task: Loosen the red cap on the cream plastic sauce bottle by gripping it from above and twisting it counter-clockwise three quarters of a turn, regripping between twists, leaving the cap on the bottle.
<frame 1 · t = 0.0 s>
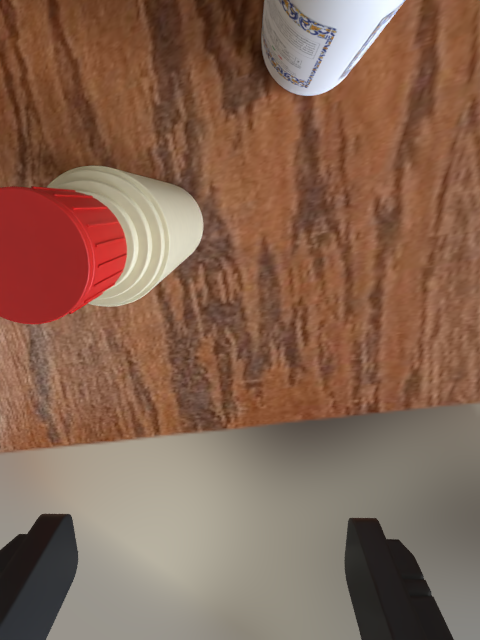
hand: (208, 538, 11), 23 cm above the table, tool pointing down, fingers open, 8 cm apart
bath foam: (309, 44, 27), on the table
cap: (28, 257, 12), point 20 cm above the table, screwed on, not yet turned
sauce bottle: (164, 224, 31), on the table
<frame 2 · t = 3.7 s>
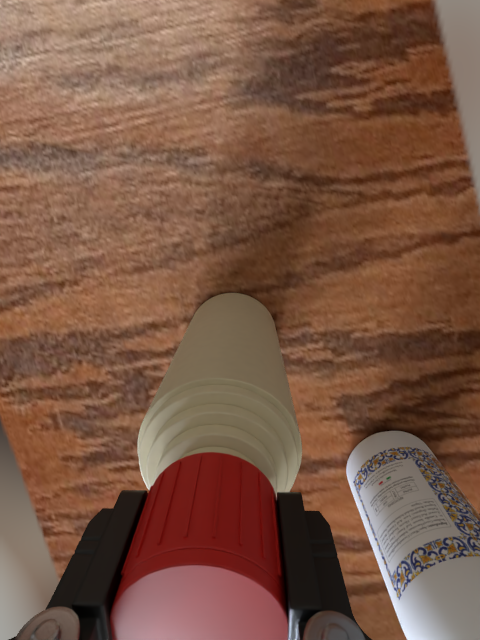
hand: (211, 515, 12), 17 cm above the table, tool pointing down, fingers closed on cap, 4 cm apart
bath foam: (386, 462, 31), on the table
cap: (201, 615, 9), point 20 cm above the table, screwed on, not yet turned, touching gripper
sauce bottle: (232, 335, 28), on the table
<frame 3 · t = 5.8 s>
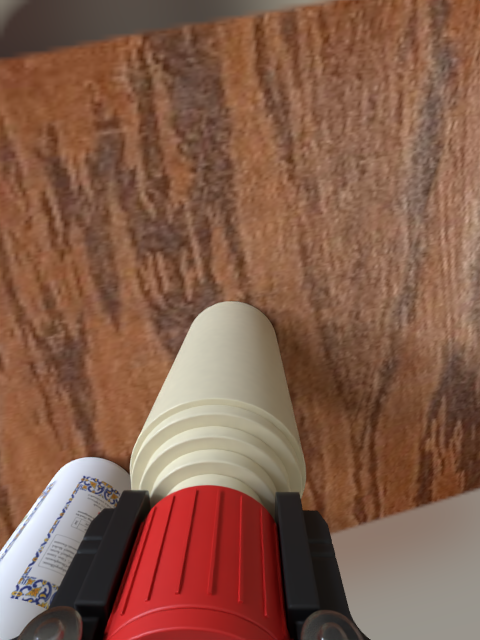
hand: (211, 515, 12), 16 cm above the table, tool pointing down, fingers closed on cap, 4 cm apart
bath foam: (98, 488, 31), on the table
sauce bottle: (232, 344, 27), on the table
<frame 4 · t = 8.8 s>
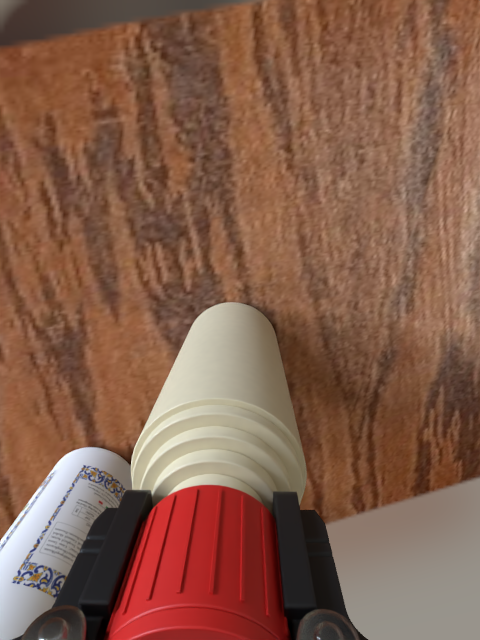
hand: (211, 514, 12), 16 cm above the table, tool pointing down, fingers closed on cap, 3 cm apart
bath foam: (98, 478, 31), on the table
sauce bottle: (232, 345, 27), on the table
when the fingers open (17 cm above the table, at t = 12.4 s): cap stays where it is, point 20 cm above the table.
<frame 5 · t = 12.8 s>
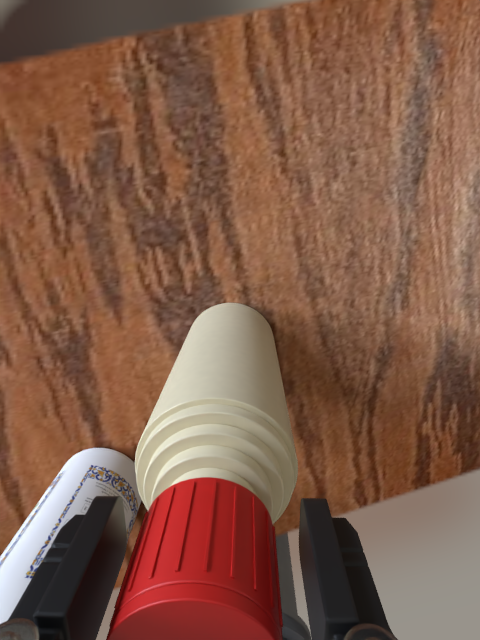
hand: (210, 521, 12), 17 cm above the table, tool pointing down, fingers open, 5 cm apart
bath foam: (105, 478, 32), on the table
sauce bottle: (231, 344, 28), on the table
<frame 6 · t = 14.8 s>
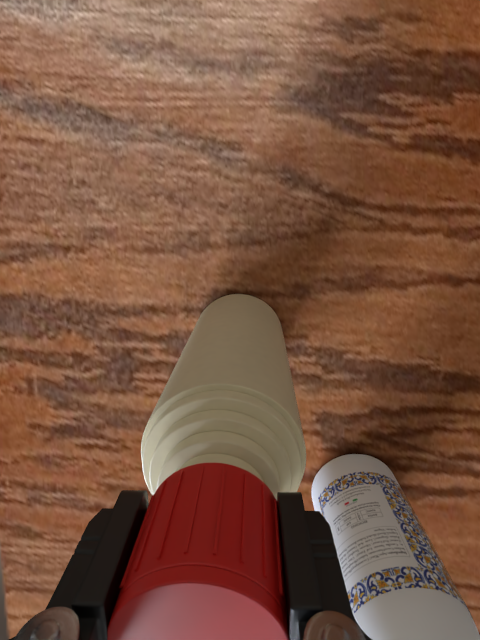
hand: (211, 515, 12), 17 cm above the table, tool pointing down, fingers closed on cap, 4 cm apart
bath foam: (351, 484, 32), on the table
cap: (199, 632, 9), point 20 cm above the table, turned 101° so far, risen 0.1 cm, still on its thread, touching gripper
sauce bottle: (238, 336, 28), on the table
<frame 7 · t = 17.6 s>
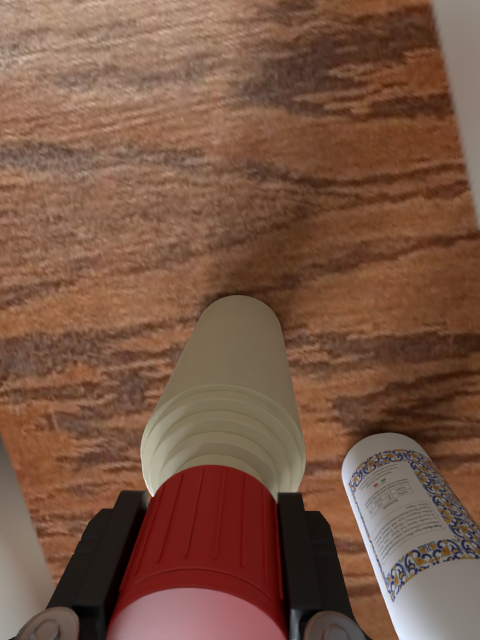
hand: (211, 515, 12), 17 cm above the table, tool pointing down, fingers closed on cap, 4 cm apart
bath foam: (381, 464, 31), on the table
cap: (199, 636, 9), point 20 cm above the table, turned 179° so far, risen 0.2 cm, still on its thread, touching gripper
sauce bottle: (238, 337, 28), on the table
when the fingers open (17 cm above the table, at t = 19.4 s): cap stays where it is, point 20 cm above the table.
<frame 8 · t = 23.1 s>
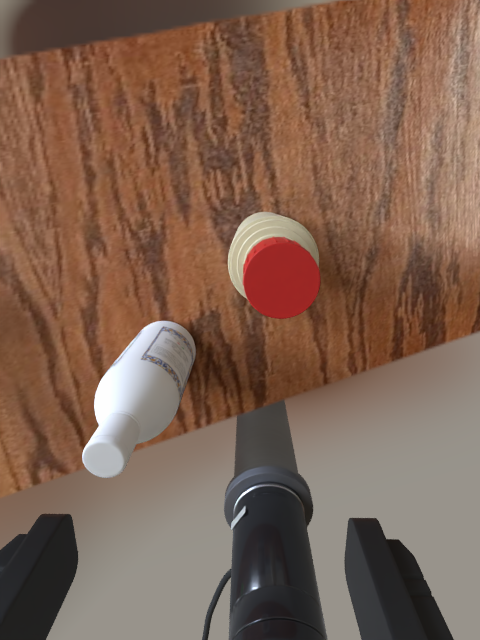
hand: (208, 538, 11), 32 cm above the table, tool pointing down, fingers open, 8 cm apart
bath foam: (166, 347, 44), on the table
cap: (281, 280, 21), point 20 cm above the table, turned 269° so far, risen 0.3 cm, still on its thread
sauce bottle: (264, 243, 40), on the table
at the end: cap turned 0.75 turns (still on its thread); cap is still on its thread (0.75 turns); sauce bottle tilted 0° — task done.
